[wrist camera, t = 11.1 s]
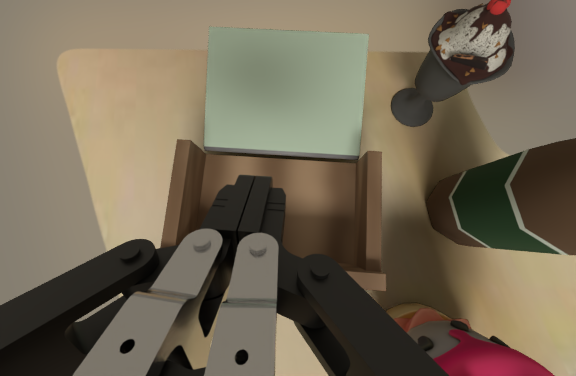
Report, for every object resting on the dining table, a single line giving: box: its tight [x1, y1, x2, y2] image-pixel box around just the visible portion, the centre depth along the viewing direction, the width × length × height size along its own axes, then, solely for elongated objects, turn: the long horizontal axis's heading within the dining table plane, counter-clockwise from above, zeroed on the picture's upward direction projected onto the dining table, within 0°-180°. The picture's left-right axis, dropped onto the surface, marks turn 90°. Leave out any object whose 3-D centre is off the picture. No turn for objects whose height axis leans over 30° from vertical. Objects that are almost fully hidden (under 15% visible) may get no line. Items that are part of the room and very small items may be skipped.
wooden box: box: [161, 139, 386, 291], centre depth 23 cm, size 18×11×8 cm, turn 86°
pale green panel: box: [204, 27, 369, 160], centre depth 26 cm, size 16×2×12 cm
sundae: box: [391, 0, 515, 127], centre depth 22 cm, size 7×7×15 cm
